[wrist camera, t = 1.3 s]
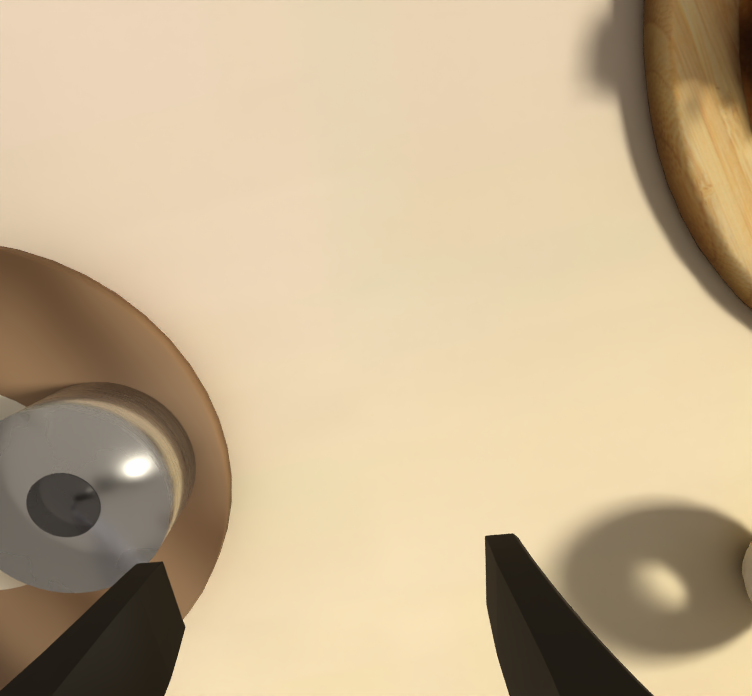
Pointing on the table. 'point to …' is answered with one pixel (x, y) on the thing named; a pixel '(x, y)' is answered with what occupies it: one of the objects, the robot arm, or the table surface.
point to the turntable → (114, 365)
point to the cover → (89, 485)
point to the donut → (748, 571)
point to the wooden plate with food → (706, 123)
